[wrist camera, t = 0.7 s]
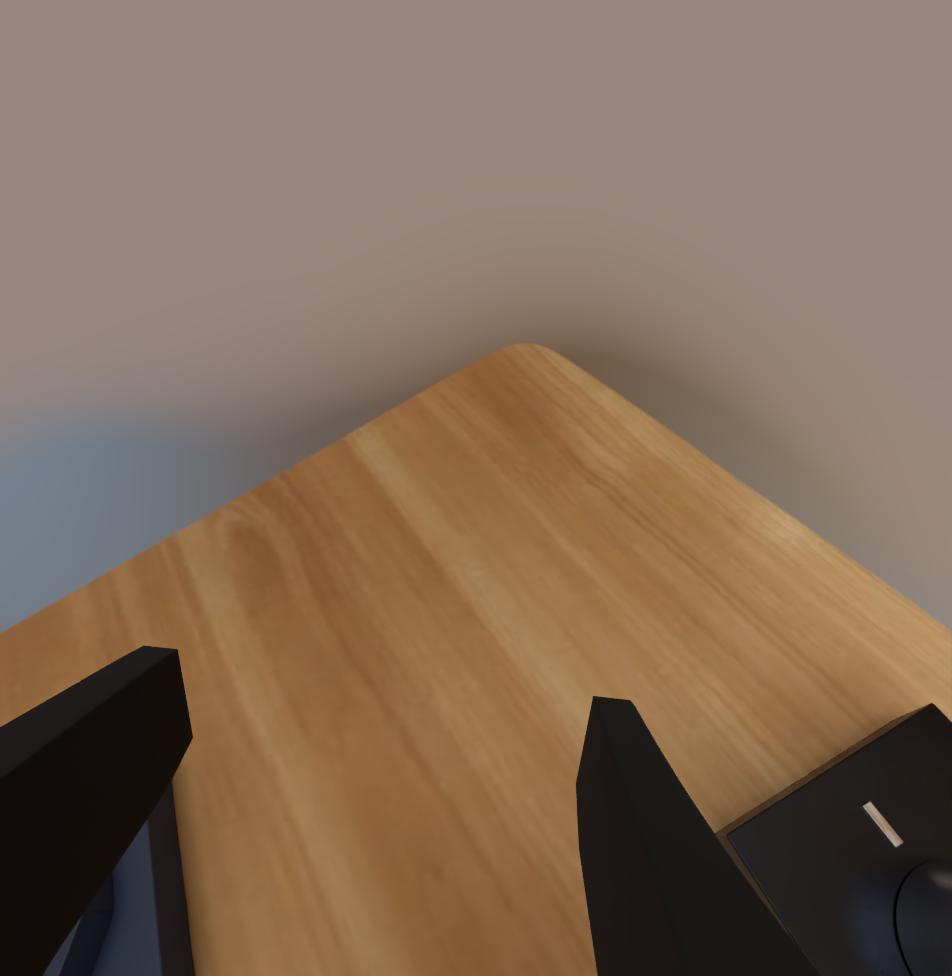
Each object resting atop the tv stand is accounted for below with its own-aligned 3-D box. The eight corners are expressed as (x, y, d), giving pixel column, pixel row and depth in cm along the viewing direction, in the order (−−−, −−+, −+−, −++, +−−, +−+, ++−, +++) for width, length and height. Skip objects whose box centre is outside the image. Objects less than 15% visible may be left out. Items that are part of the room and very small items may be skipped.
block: (198, 1006, 21) (134, 1032, 18) (-78, 1169, 19) (-206, 1230, 16) (168, 752, 27) (114, 736, 23) (-49, 861, 25) (-139, 860, 22)
